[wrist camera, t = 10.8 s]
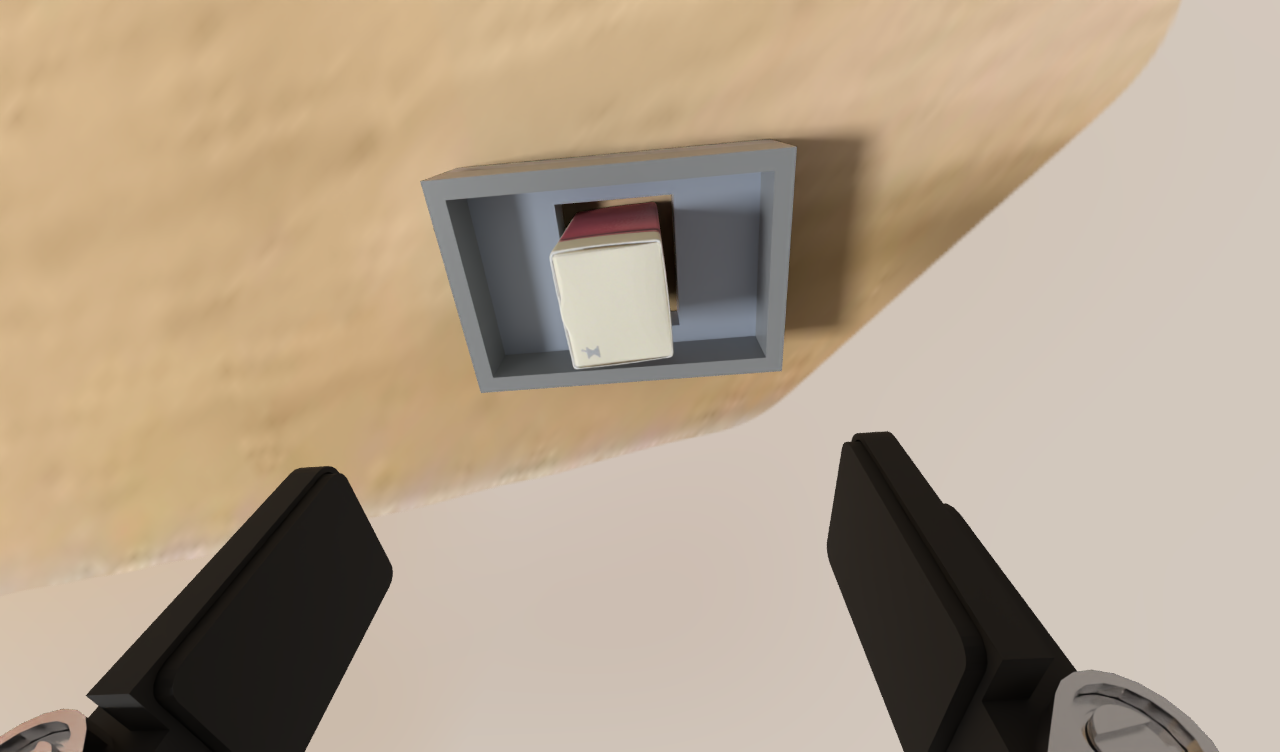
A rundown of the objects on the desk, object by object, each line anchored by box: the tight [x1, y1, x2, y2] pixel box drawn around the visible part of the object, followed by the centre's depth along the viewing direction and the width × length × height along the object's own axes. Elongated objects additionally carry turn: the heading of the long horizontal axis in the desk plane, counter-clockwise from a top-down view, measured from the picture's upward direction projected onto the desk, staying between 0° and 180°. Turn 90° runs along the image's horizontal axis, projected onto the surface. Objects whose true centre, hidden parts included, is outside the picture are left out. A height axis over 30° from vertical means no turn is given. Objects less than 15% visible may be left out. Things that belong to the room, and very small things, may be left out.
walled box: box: [420, 139, 797, 393], centre depth 24 cm, size 15×10×4 cm, turn 95°
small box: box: [549, 202, 674, 369], centre depth 22 cm, size 5×4×8 cm
